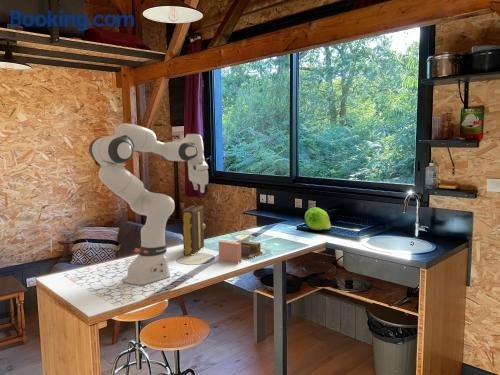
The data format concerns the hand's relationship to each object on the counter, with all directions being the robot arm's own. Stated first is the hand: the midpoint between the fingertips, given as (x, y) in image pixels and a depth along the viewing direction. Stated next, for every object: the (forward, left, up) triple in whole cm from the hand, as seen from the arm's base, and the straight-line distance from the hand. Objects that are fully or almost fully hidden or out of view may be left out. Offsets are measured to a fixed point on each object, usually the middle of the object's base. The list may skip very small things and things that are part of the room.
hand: (199, 191), depth 215 cm
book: (+14, +16, -37) cm, 43 cm away
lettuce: (+101, -24, -37) cm, 110 cm away
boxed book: (+7, -14, -37) cm, 40 cm away
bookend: (+17, -14, -36) cm, 42 cm away
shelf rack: (+21, -14, -37) cm, 45 cm away
